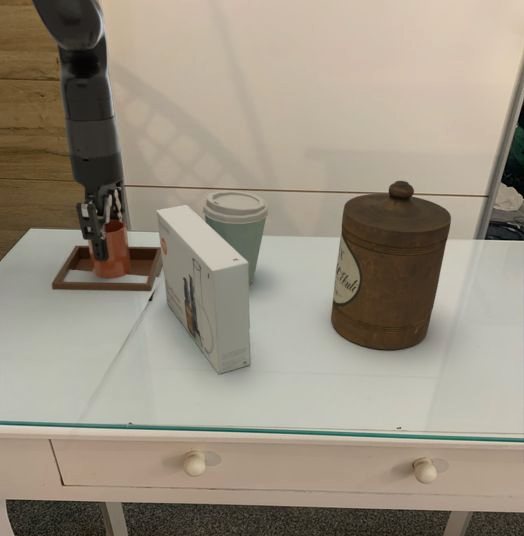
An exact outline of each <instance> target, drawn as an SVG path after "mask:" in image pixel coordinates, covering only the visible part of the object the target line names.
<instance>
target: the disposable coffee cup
mask: <svg viewBox="0 0 524 536" xmlns="http://www.w3.org/2000/svg"><path fill="white" fill-rule="evenodd" d="M202 214H203V215H204V219H205V222H206V223H207V224H208V225H209V226H210V227H211V228H212V229H213V230H214V231H215V232H216V233H218V234H219V235H220V236H221V237H222V238H223V239H224V240H225V241H226V242H227V243H228V244H229V245H230V246H232V247H233V248H234V249H235V250H236V251H237V252H238V253H239V254H240V255H241V256H242V257H243V258H244V259H245V260H246V261H247V262H248V264H249V267H248V273H249V286H250V285H251V284H252V283H253V281H254V279H255V273H256V269H257V264H258V260H259V254H260V249H261V244H262V239H263V236H264V231H265V225H266V221H267V217H268V216H269V208H268V203H267V202H266V201H265V199H263V198H262V197H261V196H259V195H258V194H255V193H251V192H247V191H244V190H243V191H242V190H232V189H231V190H230V189H229V190H216V191H213V192H210V193H208V194H207V195H206V199H205V200H204V202H203V207H202Z"/></svg>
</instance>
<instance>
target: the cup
mask: <svg viewBox="0 0 524 536" xmlns="http://www.w3.org/2000/svg"><path fill="white" fill-rule="evenodd" d="M99 228H100V224H99ZM87 229H88V227H87ZM106 241H107V248H108V255H109V258H108V259H107V261H98V260H95V259H94V254H93V248H92V241H91V240H87V243H88V246H89V250H90V256H91V263H92V269H93V272H92V274H94V275H95V276H96V277H98V278H101V279H117V278H121V277H124V276H126V275H128V276H133V275H132V271H131V263H130V254H129V247H130V246H129V239H128V230H127V223H126V222H124V221H123V220H122V221H120V220H117V219H109V224H108V225H107V226H106Z"/></svg>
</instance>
